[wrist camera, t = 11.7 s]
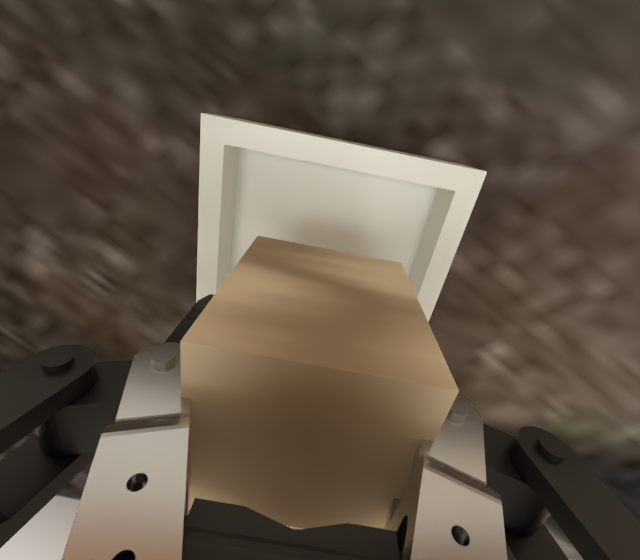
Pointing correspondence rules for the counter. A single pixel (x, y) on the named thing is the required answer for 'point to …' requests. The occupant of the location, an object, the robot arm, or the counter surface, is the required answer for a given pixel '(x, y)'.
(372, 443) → the maple block
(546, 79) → the counter surface
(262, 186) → the white tray
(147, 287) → the counter surface
